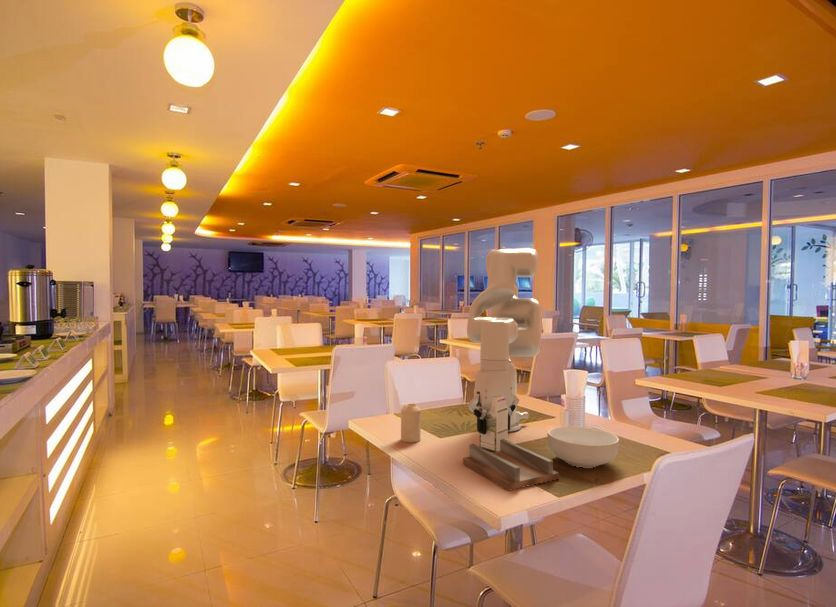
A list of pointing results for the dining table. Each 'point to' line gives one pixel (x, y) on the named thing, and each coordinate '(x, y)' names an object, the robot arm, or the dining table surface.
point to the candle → (410, 423)
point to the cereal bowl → (583, 445)
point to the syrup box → (495, 425)
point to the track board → (511, 465)
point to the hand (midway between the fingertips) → (493, 430)
